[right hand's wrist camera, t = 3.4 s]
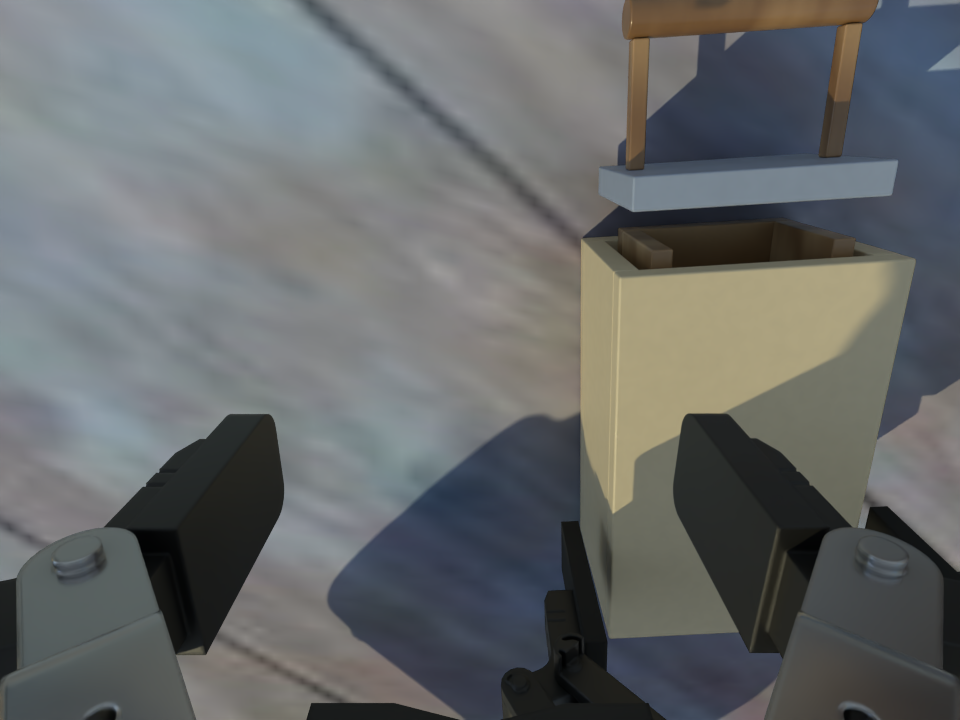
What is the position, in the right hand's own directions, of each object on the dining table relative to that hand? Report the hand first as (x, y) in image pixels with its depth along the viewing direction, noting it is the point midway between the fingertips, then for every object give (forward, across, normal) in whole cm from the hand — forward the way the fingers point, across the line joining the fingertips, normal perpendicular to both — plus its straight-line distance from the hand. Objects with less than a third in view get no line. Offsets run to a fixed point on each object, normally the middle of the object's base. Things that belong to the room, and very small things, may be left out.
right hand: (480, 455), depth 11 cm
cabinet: (+17, +10, -7) cm, 21 cm away
